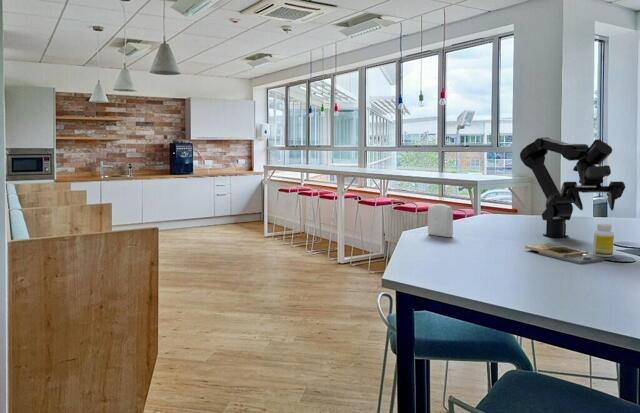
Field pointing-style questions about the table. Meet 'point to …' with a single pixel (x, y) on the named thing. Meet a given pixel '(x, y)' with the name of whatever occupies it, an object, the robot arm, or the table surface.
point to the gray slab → (571, 255)
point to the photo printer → (440, 220)
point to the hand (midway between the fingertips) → (597, 209)
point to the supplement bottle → (603, 241)
